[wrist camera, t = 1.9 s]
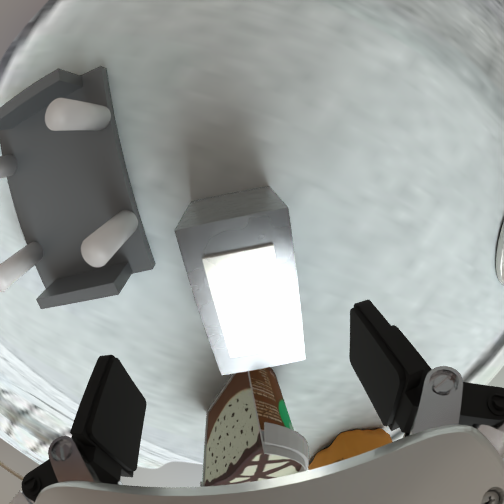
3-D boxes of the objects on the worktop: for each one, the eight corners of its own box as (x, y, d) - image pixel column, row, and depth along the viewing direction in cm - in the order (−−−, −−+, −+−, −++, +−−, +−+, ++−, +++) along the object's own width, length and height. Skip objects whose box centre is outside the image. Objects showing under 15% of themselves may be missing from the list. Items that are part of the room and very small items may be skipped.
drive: (269, 185, 18) (288, 208, 12) (287, 305, 21) (306, 361, 15) (191, 201, 18) (173, 231, 12) (221, 317, 21) (221, 377, 15)
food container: (254, 429, 27) (263, 505, 18) (201, 418, 26) (199, 500, 17) (315, 358, 23) (350, 452, 14) (253, 341, 22) (269, 449, 13)
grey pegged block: (107, 67, 13) (63, 46, 8) (156, 263, 19) (133, 310, 13) (3, 127, 13) (-47, 133, 8) (51, 287, 19) (15, 328, 13)
